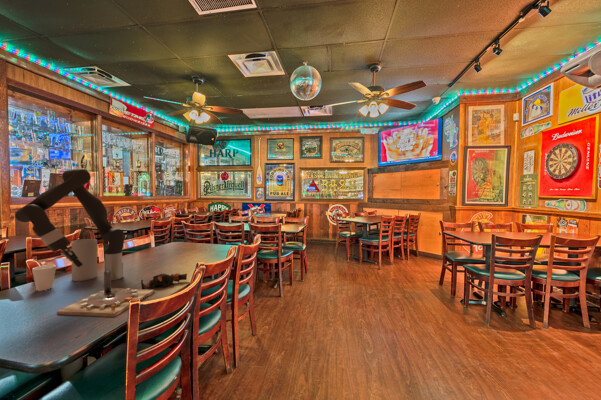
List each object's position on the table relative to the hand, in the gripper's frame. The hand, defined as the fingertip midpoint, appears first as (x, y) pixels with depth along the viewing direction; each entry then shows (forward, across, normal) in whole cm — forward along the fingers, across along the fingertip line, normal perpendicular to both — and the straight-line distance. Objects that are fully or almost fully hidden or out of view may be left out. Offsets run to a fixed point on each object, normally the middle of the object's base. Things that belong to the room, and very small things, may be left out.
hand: (80, 265), depth 127 cm
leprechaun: (+37, -6, -22) cm, 43 cm away
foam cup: (+5, +38, +15) cm, 41 cm away
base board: (+22, -11, +2) cm, 25 cm away
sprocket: (+21, -11, +2) cm, 24 cm away
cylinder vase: (+14, +44, -2) cm, 46 cm away
